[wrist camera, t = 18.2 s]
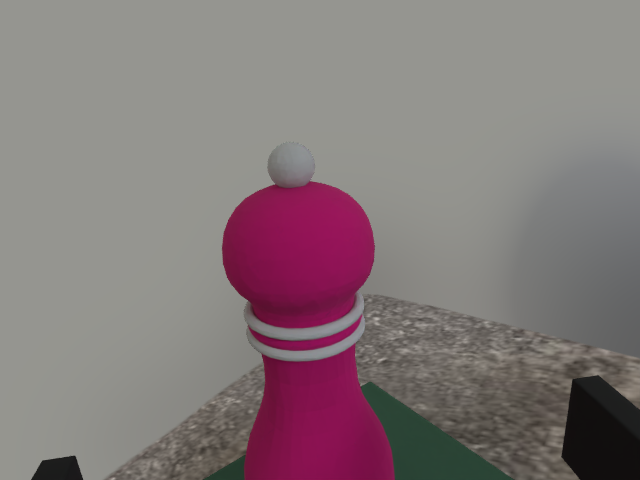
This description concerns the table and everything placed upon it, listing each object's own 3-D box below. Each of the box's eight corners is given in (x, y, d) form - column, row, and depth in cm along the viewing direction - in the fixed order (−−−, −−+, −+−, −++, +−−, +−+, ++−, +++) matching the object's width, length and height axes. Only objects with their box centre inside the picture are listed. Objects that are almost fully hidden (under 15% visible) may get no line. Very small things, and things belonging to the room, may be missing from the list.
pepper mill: (242, 501, 25) (180, 144, 18) (358, 458, 27) (340, 127, 20) (276, 642, 18) (199, 168, 12) (424, 570, 21) (429, 139, 14)
